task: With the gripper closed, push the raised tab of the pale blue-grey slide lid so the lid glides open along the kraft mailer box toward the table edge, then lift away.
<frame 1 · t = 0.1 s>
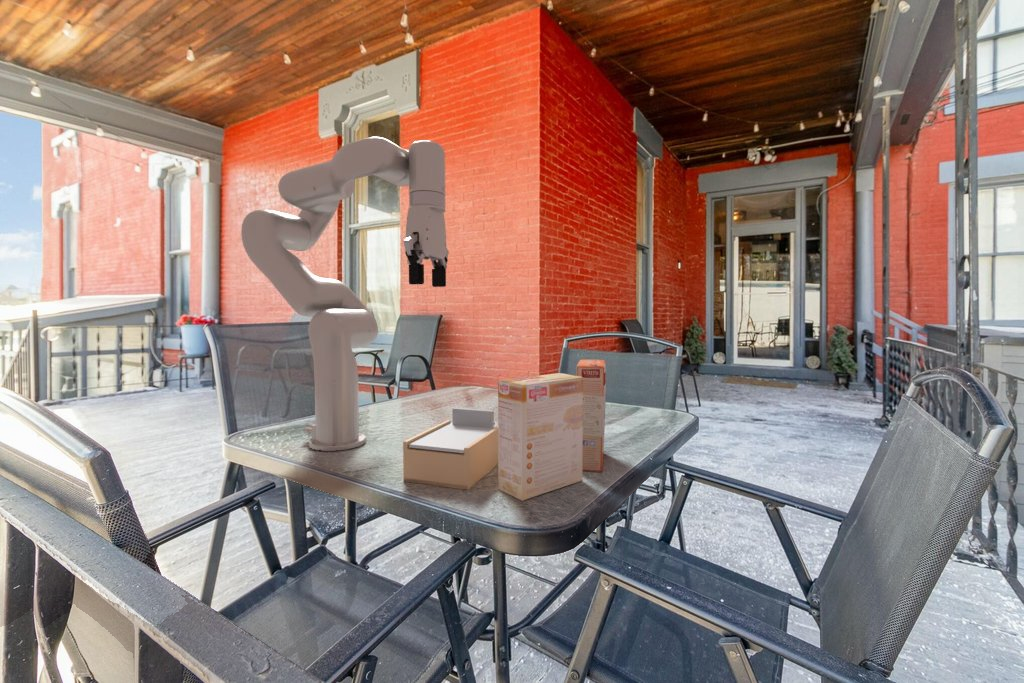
hand: (428, 285, 100), 37 cm above the table, tool pointing down, fingers open, 9 cm apart
lid: (456, 427, 92), point 8 cm above the table, slide at 0.0 cm
mailer: (456, 469, 92), on the table
cracker box: (589, 462, 98), on the table
coffeecake box: (541, 486, 84), on the table
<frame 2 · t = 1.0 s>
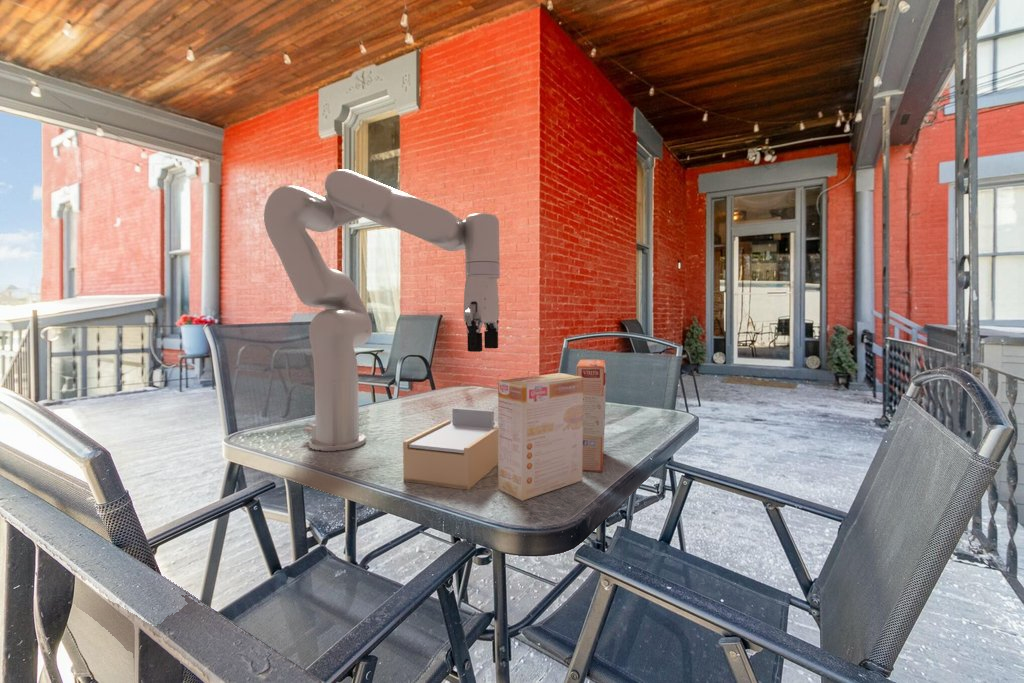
hand: (483, 349, 104), 23 cm above the table, tool pointing down, fingers open, 9 cm apart
nothing on the table moved.
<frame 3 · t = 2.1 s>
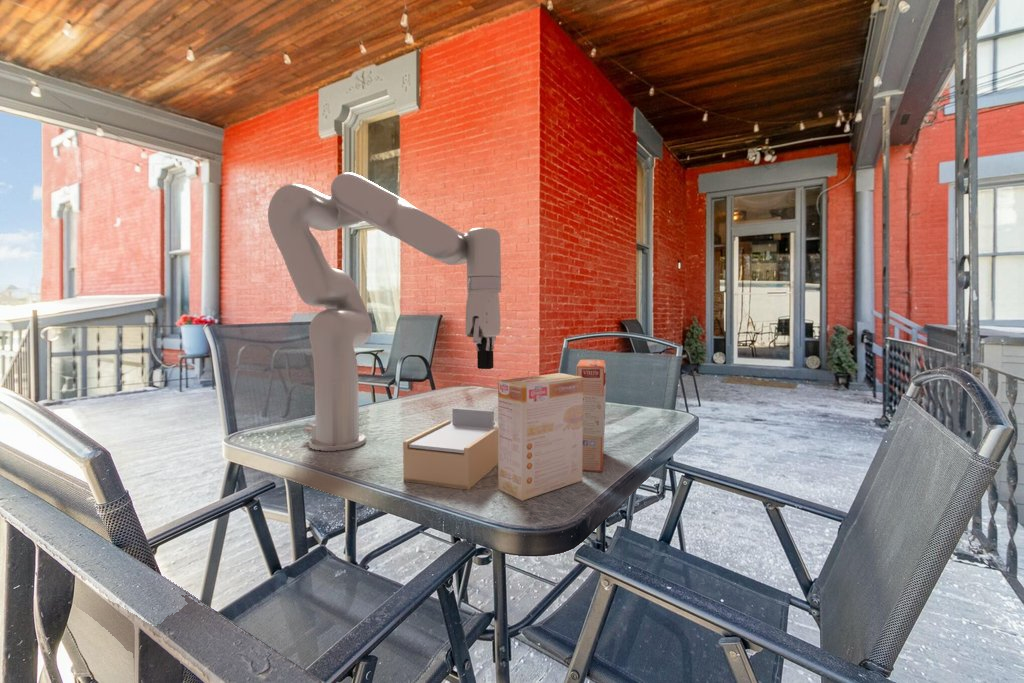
hand: (485, 368, 104), 18 cm above the table, tool pointing down, fingers closed
nothing on the table moved.
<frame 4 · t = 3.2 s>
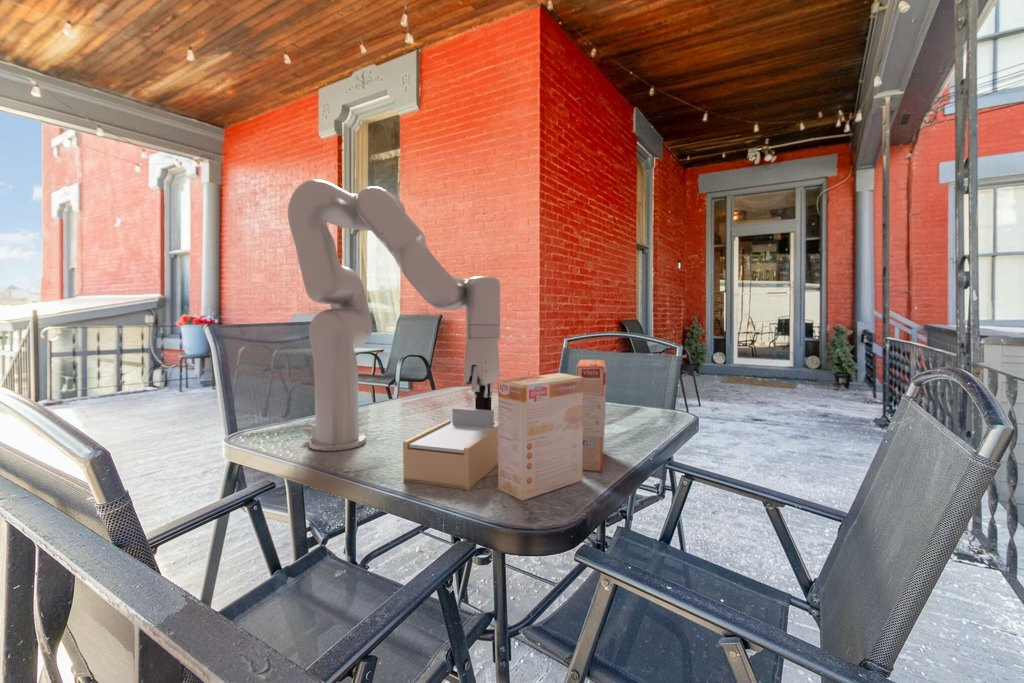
hand: (483, 414, 105), 8 cm above the table, tool pointing down, fingers closed
nothing on the table moved.
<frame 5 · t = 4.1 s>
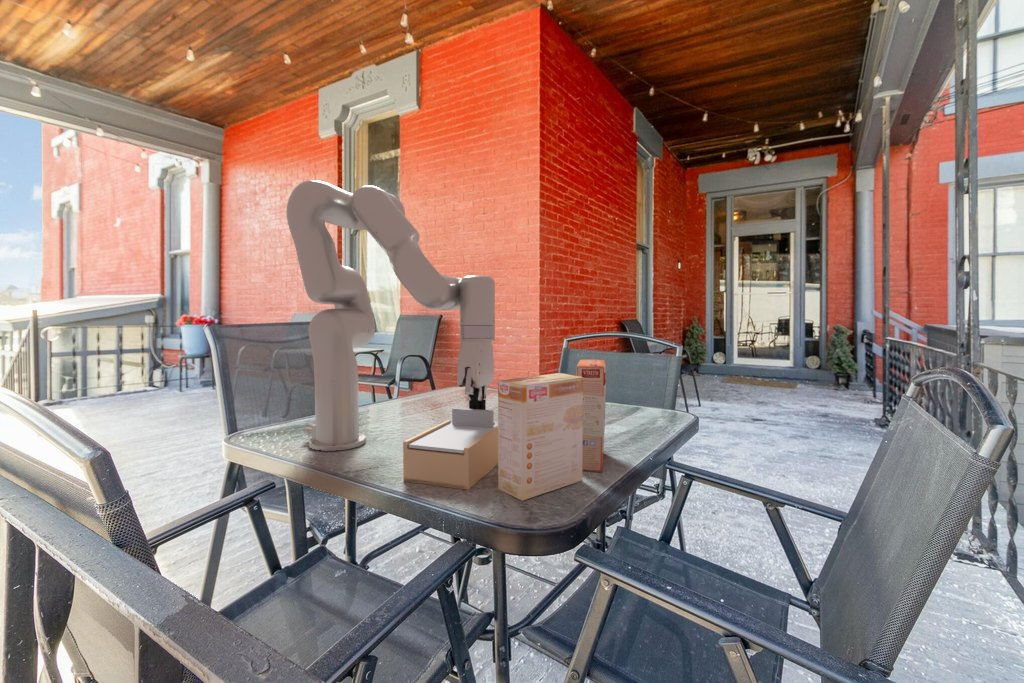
hand: (477, 417, 102), 8 cm above the table, tool pointing down, fingers closed
lid: (456, 427, 92), point 8 cm above the table, slide at 0.1 cm, touching gripper
everything else where it was.
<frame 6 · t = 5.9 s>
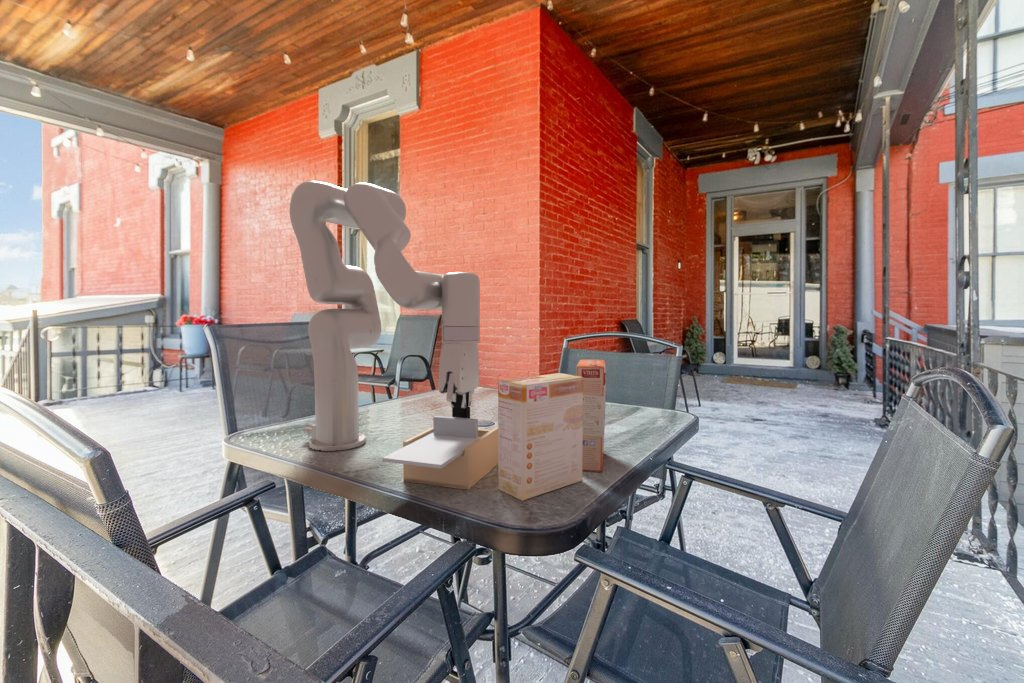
hand: (461, 426, 94), 8 cm above the table, tool pointing down, fingers closed
lid: (436, 438, 84), point 8 cm above the table, slide at 8.5 cm, touching gripper
everything else where it was.
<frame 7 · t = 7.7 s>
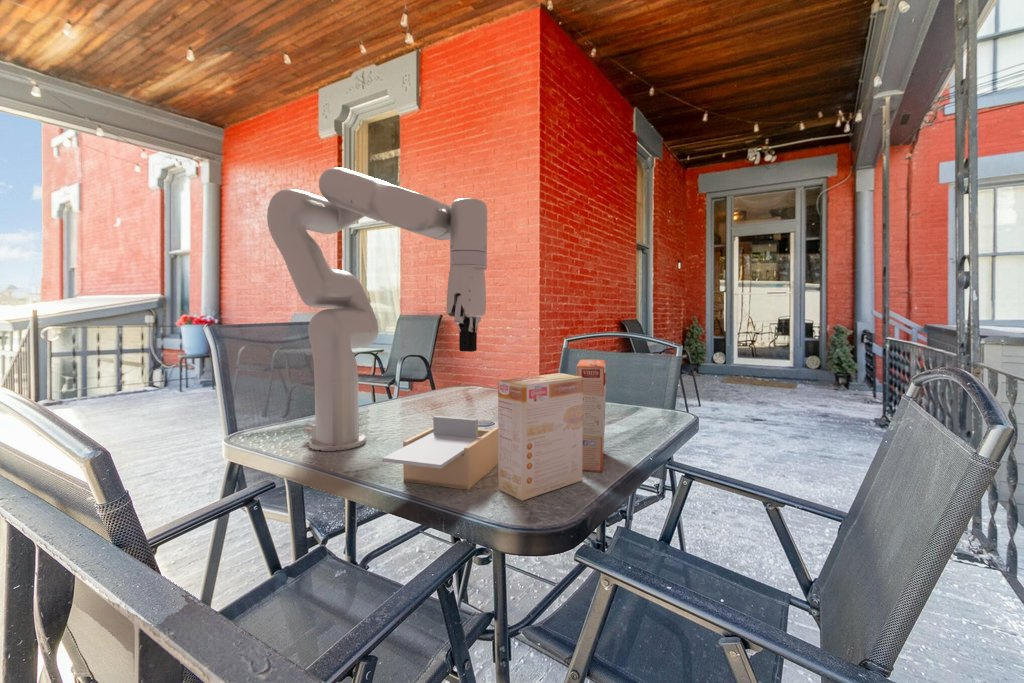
hand: (467, 351, 97), 23 cm above the table, tool pointing down, fingers closed
lid: (436, 438, 84), point 8 cm above the table, slide at 8.5 cm
everything else where it was.
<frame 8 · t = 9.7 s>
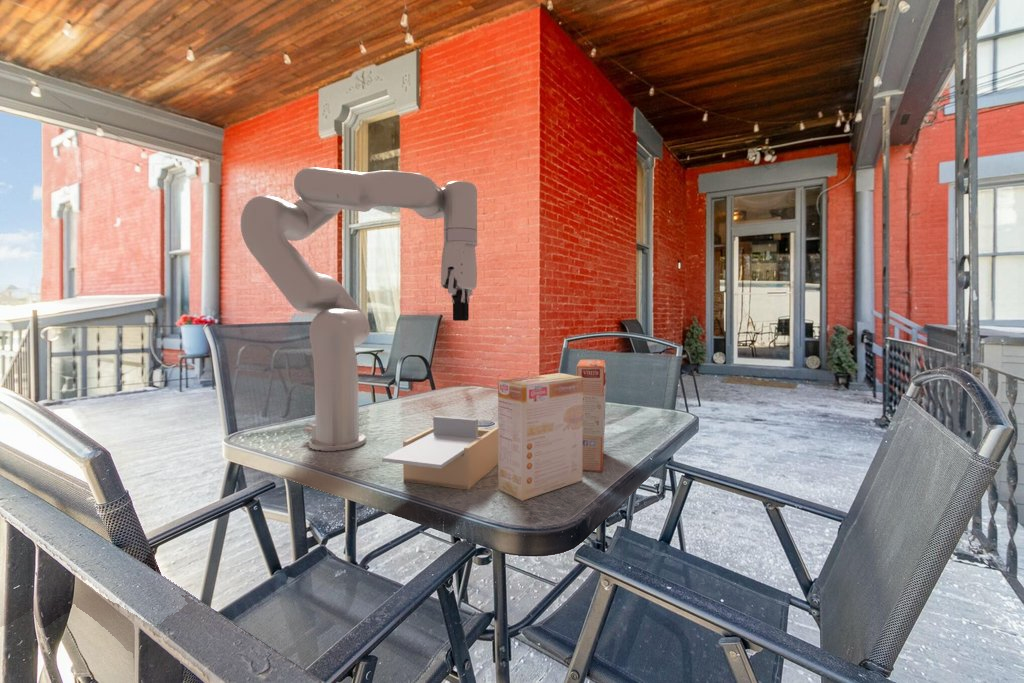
hand: (460, 320, 107), 29 cm above the table, tool pointing down, fingers closed
nothing on the table moved.
at the end: lid slide at 8.5 cm; lid touching nothing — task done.
